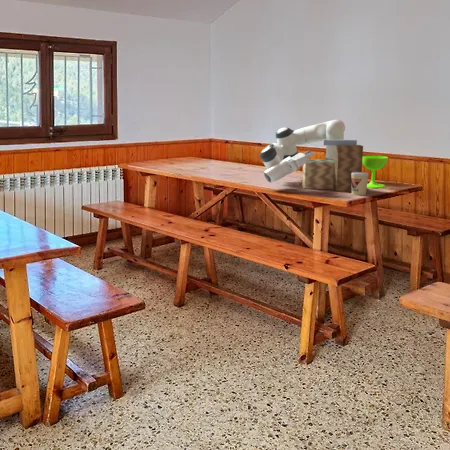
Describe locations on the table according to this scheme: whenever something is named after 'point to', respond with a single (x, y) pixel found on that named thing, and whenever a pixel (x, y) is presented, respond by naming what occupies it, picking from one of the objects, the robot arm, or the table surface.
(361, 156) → the tall brown box
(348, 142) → the batten
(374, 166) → the wineglass
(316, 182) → the zigzag patterned box
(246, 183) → the table surface
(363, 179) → the coffee cup
